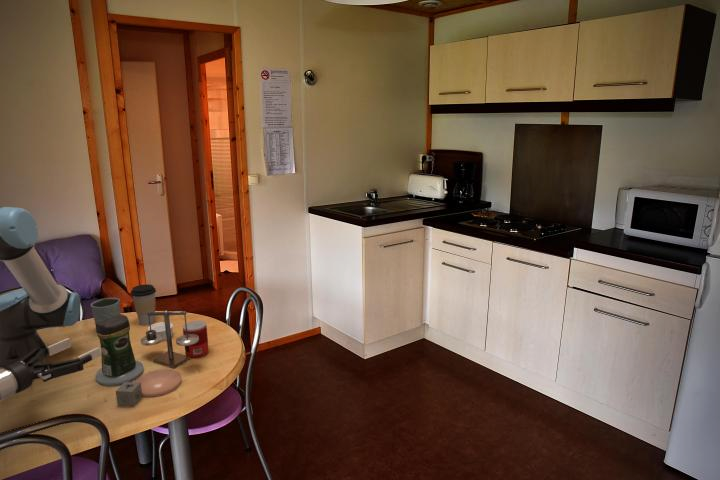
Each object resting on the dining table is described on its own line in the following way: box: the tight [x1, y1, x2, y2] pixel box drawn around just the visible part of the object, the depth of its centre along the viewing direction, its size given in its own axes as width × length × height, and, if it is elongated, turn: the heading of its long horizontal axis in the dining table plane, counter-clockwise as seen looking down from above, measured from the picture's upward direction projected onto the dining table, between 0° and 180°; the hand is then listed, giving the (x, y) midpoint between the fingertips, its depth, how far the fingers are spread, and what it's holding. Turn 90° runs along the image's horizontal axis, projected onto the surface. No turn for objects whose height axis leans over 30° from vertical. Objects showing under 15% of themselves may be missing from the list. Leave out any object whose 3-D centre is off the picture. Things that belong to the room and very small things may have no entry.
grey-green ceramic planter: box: [90, 297, 121, 325], centre depth 191 cm, size 10×10×12 cm
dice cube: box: [115, 381, 144, 408], centre depth 144 cm, size 5×5×5 cm
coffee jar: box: [95, 313, 136, 377], centre depth 157 cm, size 10×8×19 cm
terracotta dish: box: [134, 368, 182, 398], centre depth 154 cm, size 14×14×2 cm
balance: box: [140, 310, 199, 370], centre depth 166 cm, size 24×7×20 cm, turn 64°
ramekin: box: [147, 321, 174, 342], centre depth 186 cm, size 9×9×4 cm
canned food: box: [182, 320, 210, 359], centre depth 172 cm, size 8×8×11 cm
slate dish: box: [95, 359, 145, 387], centre depth 160 cm, size 14×14×2 cm
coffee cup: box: [130, 284, 157, 326], centre depth 198 cm, size 9×9×15 cm
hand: (84, 346), depth 147 cm, fingers open, 13 cm apart
